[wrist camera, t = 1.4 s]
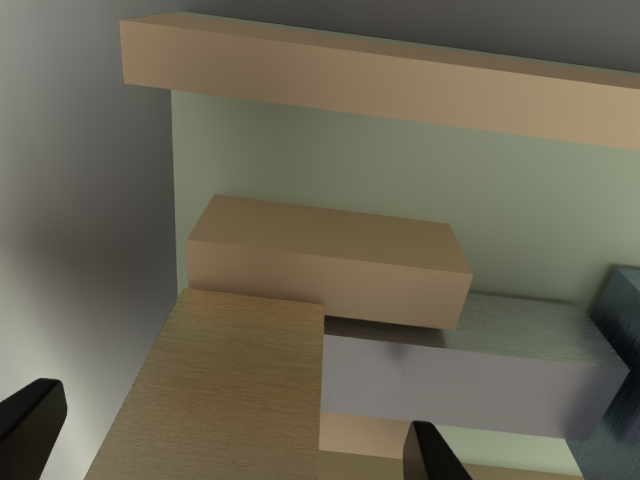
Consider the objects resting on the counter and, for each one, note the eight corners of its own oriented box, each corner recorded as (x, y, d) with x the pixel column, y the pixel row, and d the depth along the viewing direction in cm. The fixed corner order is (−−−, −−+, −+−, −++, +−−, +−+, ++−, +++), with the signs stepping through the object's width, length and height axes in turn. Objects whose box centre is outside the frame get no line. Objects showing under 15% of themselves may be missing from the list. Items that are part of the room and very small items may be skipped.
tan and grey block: (584, 408, 14) (850, 857, 7) (209, 365, 14) (65, 786, 7) (660, 273, 12) (1189, 734, 5) (211, 217, 12) (-13, 614, 4)
